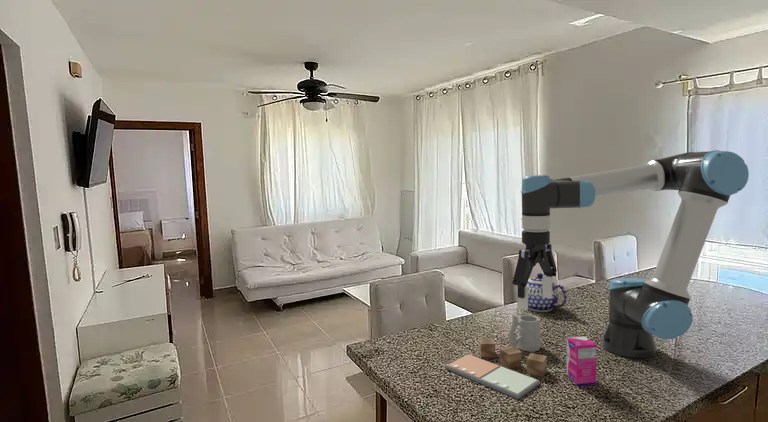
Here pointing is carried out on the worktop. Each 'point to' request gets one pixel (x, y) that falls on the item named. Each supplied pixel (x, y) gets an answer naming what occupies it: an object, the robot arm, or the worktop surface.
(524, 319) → the mug
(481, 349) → the walnut block
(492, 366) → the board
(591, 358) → the supplement box
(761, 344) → the worktop surface
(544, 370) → the walnut block
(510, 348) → the walnut block
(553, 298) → the teapot
